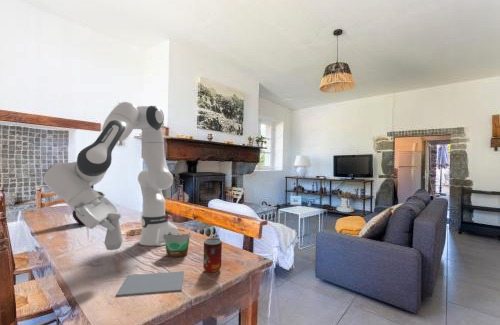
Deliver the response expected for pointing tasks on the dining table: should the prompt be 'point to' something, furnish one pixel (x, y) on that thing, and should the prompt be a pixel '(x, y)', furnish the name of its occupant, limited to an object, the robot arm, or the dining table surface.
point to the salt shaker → (113, 232)
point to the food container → (177, 245)
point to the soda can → (212, 255)
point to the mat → (151, 283)
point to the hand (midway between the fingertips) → (115, 227)
